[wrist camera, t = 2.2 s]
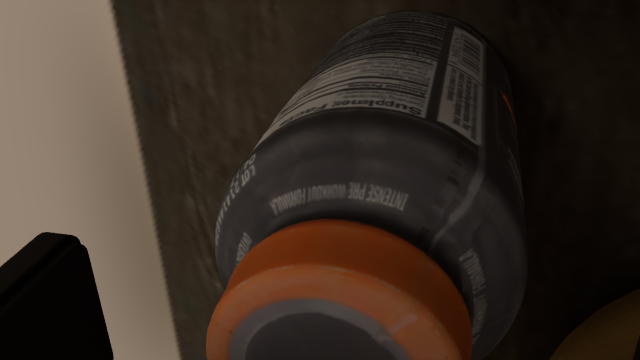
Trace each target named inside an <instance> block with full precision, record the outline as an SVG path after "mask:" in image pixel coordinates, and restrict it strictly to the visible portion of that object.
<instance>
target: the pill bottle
mask: <svg viewBox="0 0 640 360" xmlns="http://www.w3.org/2000/svg"><path fill="white" fill-rule="evenodd" d="M215 255H216V261H217V266H218V271H219V275H220V279H221V282H222V284H223V287H224V289H225V292H224V293H223V295H222V297H221V299H220V300H219V302H218V304H217V306H216V307H215V310H214V313H213V315H212V318H211V321H210V324H209V327H208V332H207V340H206V354H207V359H208V360H482V359H483V358H485V357H486V356H487V355H488V354H489V353H490V352H491V351H492V350H493V349H494V348H495V347H496V346H497V344H498V343H499V342H500V341H501V340H502V339H503V337H504V336H505V335H506V333H507V332H508V331H509V329H510V327H511V325H512V324H513V322H514V320H515V318H516V316H517V314H518V312H519V309H520V307H521V304H522V301H523V298H524V294H525V289H526V285H527V278H528V272H529V267H528V245H527V222H526V217H525V207H524V199H523V190H522V176H521V166H520V157H519V143H518V136H517V126H516V119H515V109H514V101H513V95H512V91H511V86H510V82H509V78H508V75H507V72H506V70H505V67H504V66H503V64H502V62H501V61H500V59H499V57H498V55H497V54H496V53H495V51H494V50H493V48H492V47H491V46H490V45H489V44H488V43H487V42H486V41H485V40H484V39H483V38H482V37H481V36H480V35H479V34H478V33H477V32H475V31H474V30H473V29H471V28H470V27H468V26H467V25H465V24H464V23H461V22H459V21H457V20H455V19H453V18H450V17H448V16H445V15H442V14H438V13H434V12H429V11H419V10H405V11H397V12H392V13H388V14H383V15H380V16H377V17H374V18H371V19H369V20H367V21H365V22H363V23H361V24H359V25H358V26H356V27H354V28H353V29H352V30H350V31H349V32H348V33H346V34H345V35H344V36H343V37H342V38H341V39H340V40H339V41H338V42H337V43H336V44H335V46H334V47H333V48H332V49H331V50H330V51H329V53H328V54H327V55H326V56H325V57H324V58H323V60H322V61H321V63H320V64H319V65H318V67H317V68H316V69H315V70H314V72H313V73H312V74H311V75H310V76H309V78H308V79H307V80H306V82H305V83H304V84H303V85H302V87H301V88H300V89H299V90H298V91H297V92H296V94H295V95H294V96H293V97H292V98H291V100H290V101H289V102H288V103H287V104H286V106H285V107H284V108H283V109H282V111H281V112H280V113H279V114H278V115H277V116H276V118H275V119H274V121H273V122H272V124H271V126H270V127H269V128H268V130H267V131H266V133H265V134H264V135H263V137H262V138H261V140H260V141H259V143H258V144H257V145H256V147H255V148H254V150H253V151H252V152H251V154H250V155H249V156H248V158H247V159H246V160H245V161H244V162H243V164H242V165H241V167H240V168H239V169H238V171H237V172H236V173H235V175H234V176H233V178H232V180H231V182H230V184H229V186H228V188H227V190H226V192H225V194H224V196H223V199H222V202H221V205H220V209H219V212H218V217H217V222H216V231H215Z"/></svg>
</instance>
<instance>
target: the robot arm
mask: <svg viewBox="0 0 640 360" xmlns="http://www.w3.org/2000/svg"><path fill="white" fill-rule="evenodd" d="M113 358H114V357H113V352H112V348H111V343H110V339H109V335H108V332H107V327H106V323H105V319H104V315H103V311H102V307H101V303H100V299H99V295H98V291H97V286H96V283H95V278H94V274H93V270H92V267H91V262H90V258H89V254H88V251H87V248H86V247H85V246H84V245H81V243H80V240H79V239H78V238H77V237H75V236H73V235H67V234H58V233H50V232H45V233H41V234H39V235H38V236H36V237H35V238H34V239H33V240H32V241H30V242H29V243H28V244H27V245H26V246H25V247H23V248H22V249H21V250H20V251H19V252H17V253H16V254H15V255H14V256H13V257H12V258H10V259H9V260H8V261H7V262H6V263H4V264H3V265H2V266H1V267H0V360H113ZM633 360H640V335H639V339H638V342H637V346H636V350H635V353H634V357H633Z"/></svg>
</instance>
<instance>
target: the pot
mask: <svg viewBox="0 0 640 360" xmlns="http://www.w3.org/2000/svg"><path fill="white" fill-rule="evenodd" d="M639 335H640V289H636V290H634V291H632V292H630V293H628V294H626V295H624V296H623V297H621V298H619V299H617V300H615V301H613V302H611V303H609V304H608V305H606V306H604V307H602V308H600V309H599V310H597V311H596V312H595V313H594V314H592V315H591V316H590V317H589V318H588V319H586V320H585V321H584V322H583V323H582V324H580V325H579V326H578V327H577V328H576V329H575V330H573V331H572V332H571V333H570V334H569V335H568V336H567V337H566V338H565V339H564V340H563V342H562V343H561V344H560V346H559V347H558V348H557V350H556V351H555V352H554V354H553V355H552V357H551V358H550V359H549V360H633V357H634V353H635V350H636V346H637V342H638V339H639Z"/></svg>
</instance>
